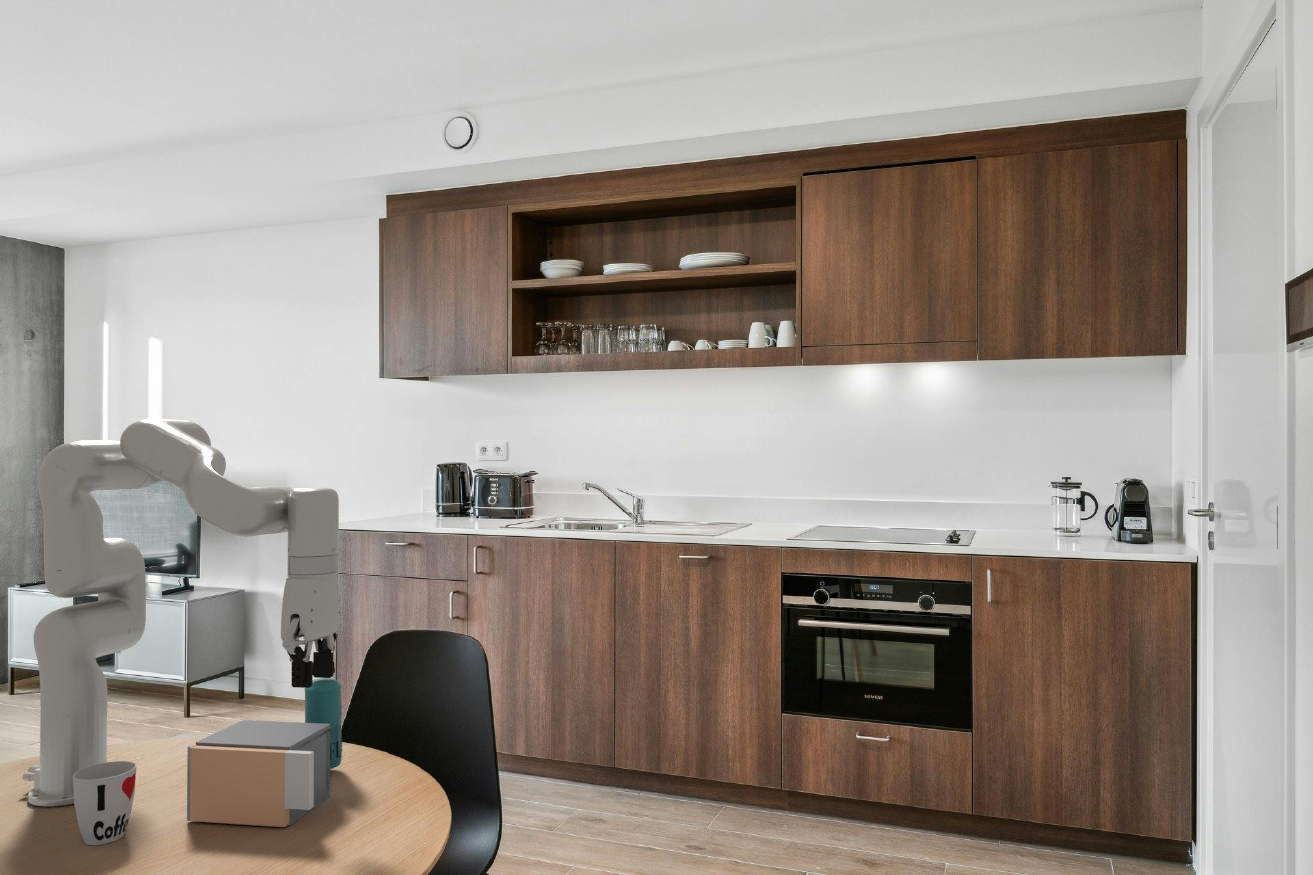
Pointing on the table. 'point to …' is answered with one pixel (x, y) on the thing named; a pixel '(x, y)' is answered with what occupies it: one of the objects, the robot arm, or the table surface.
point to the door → (248, 784)
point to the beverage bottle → (326, 712)
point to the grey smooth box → (283, 747)
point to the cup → (104, 800)
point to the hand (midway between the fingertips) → (312, 680)
